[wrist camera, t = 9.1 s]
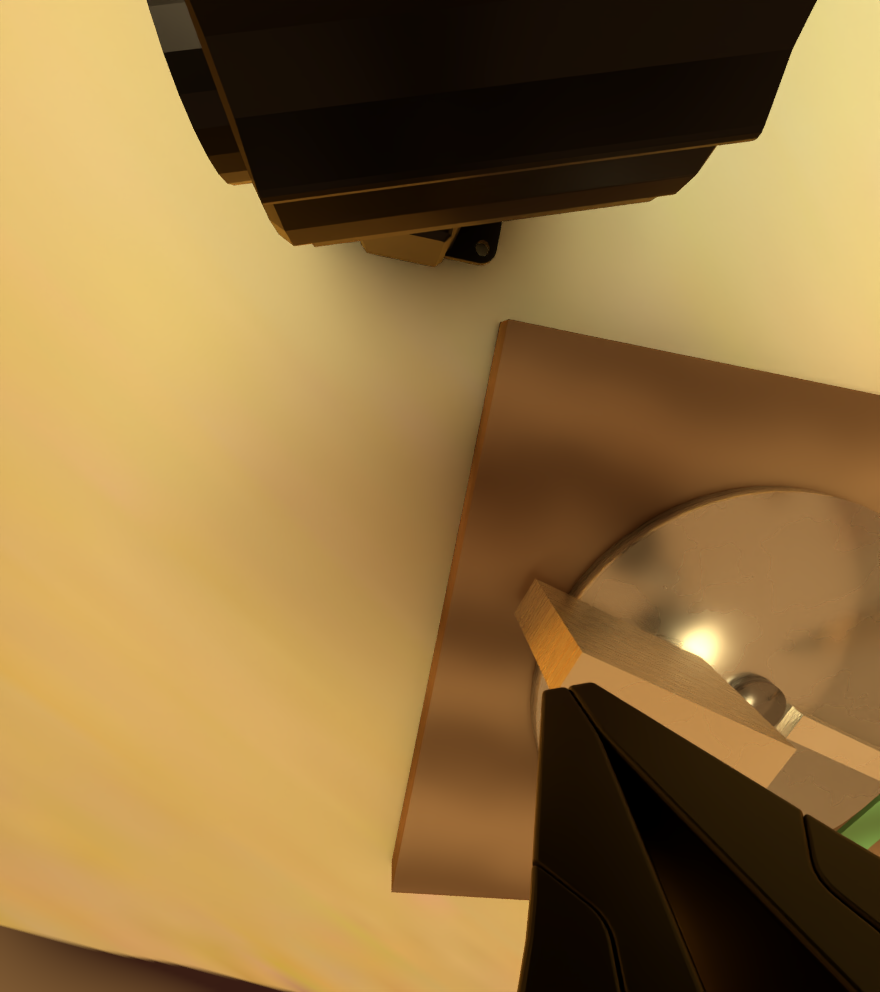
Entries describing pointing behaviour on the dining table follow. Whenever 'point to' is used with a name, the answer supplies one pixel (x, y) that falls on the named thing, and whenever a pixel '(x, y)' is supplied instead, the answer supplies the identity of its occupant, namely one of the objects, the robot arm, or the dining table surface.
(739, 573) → the dial
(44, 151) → the dining table surface
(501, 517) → the board
